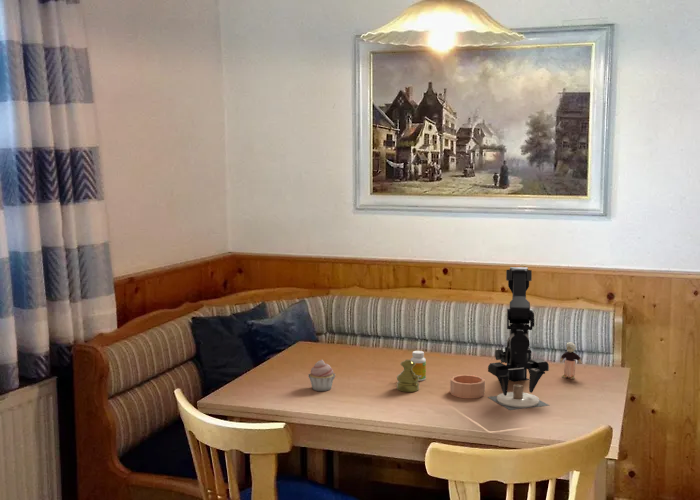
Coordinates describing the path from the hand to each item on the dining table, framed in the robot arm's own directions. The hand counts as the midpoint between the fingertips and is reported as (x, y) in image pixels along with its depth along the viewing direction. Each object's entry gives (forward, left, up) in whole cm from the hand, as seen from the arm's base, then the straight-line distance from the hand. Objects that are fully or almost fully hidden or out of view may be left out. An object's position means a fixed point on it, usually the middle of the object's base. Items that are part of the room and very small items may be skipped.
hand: (518, 393), depth 246 cm
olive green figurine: (+27, -25, -3) cm, 37 cm away
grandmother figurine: (-32, -19, -3) cm, 37 cm away
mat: (0, 0, -3) cm, 3 cm away
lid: (0, 0, -2) cm, 2 cm away
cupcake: (+54, -35, -3) cm, 64 cm away
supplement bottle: (+19, -35, -3) cm, 40 cm away
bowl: (+11, -13, -3) cm, 17 cm away
